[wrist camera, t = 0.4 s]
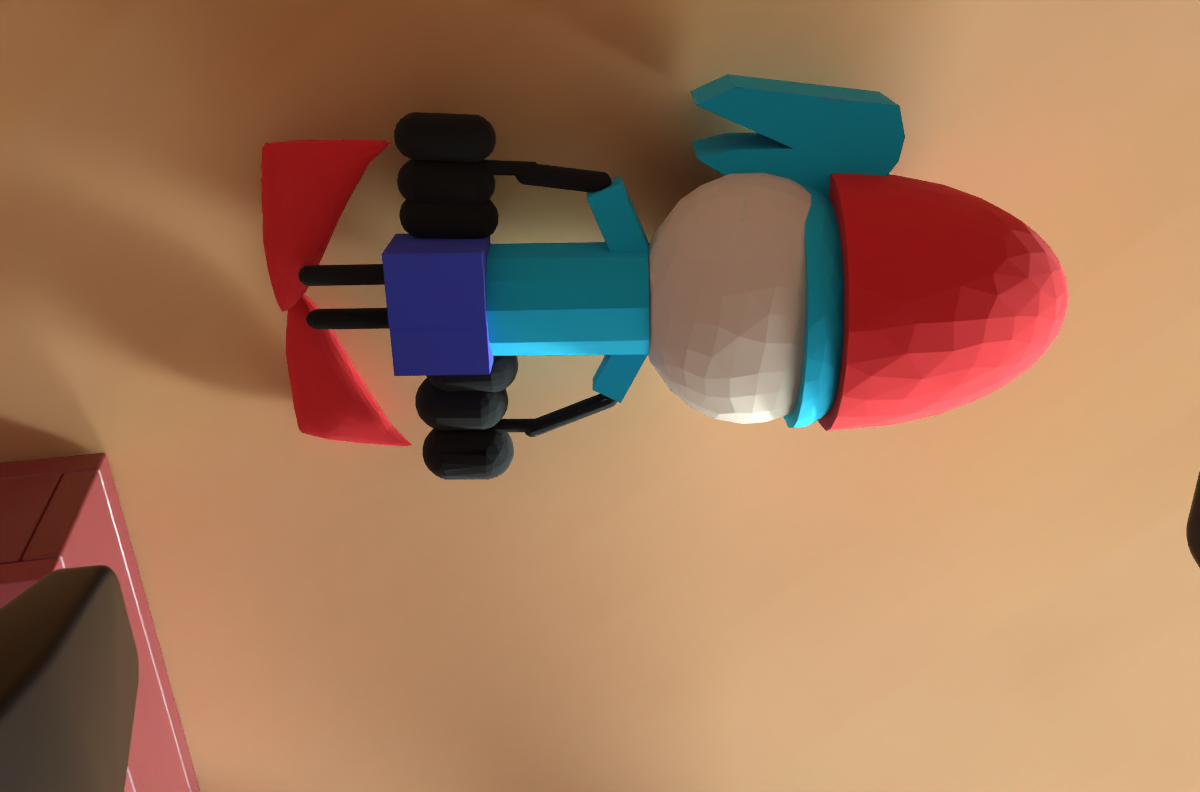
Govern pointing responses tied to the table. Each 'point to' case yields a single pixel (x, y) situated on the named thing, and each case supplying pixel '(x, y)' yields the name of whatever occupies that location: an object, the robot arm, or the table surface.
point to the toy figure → (665, 280)
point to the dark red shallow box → (99, 537)
